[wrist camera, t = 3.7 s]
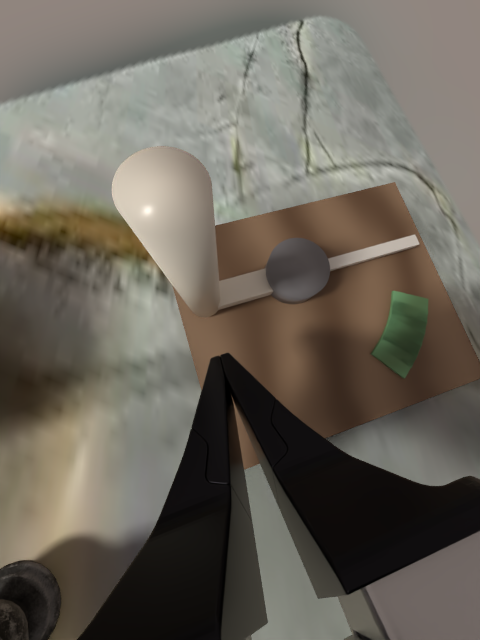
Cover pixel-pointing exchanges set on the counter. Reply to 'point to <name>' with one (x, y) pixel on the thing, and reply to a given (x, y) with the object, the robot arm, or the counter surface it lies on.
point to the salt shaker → (28, 601)
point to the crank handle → (214, 237)
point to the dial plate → (338, 318)
